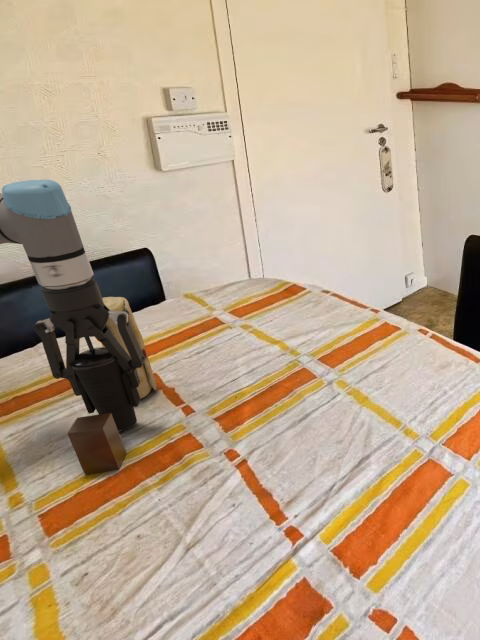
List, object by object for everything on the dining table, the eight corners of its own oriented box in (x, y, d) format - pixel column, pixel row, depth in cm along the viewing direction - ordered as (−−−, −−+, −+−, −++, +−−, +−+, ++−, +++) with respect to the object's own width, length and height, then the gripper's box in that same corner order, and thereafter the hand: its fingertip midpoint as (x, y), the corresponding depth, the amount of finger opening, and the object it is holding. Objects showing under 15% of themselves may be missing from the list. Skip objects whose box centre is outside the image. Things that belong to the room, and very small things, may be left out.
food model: (125, 386, 127) (91, 293, 118) (161, 379, 130) (130, 288, 120) (119, 408, 119) (82, 310, 110) (158, 400, 122) (125, 304, 112)
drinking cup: (112, 440, 108) (68, 335, 98) (89, 429, 111) (44, 326, 102) (154, 420, 113) (116, 318, 104) (131, 409, 117) (92, 310, 107)
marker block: (84, 475, 100) (66, 433, 97) (94, 458, 105) (76, 417, 101) (119, 469, 102) (102, 428, 98) (126, 452, 106) (111, 412, 102)
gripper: (-12, 297, 94) (46, 426, 105) (128, 282, 99) (169, 407, 110) (8, 281, 100) (61, 404, 111) (139, 268, 105) (177, 388, 116)
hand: (115, 406), depth 110 cm, fingers closed on drinking cup, 6 cm apart
